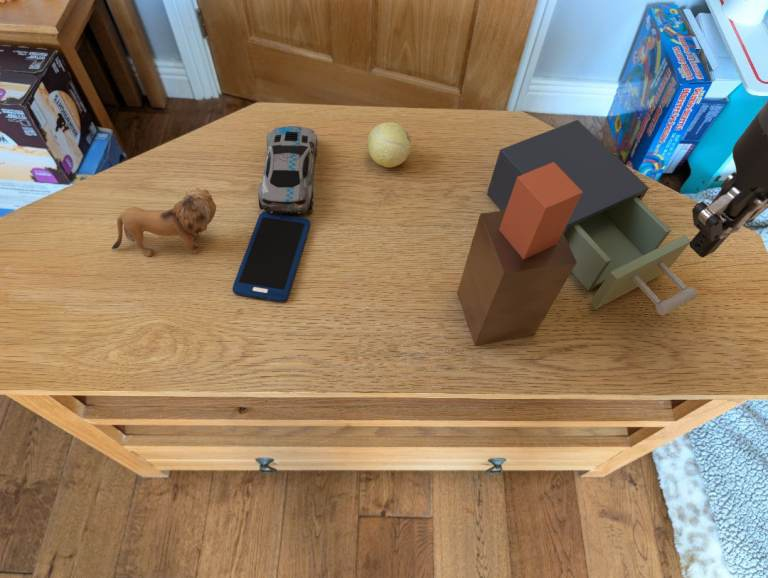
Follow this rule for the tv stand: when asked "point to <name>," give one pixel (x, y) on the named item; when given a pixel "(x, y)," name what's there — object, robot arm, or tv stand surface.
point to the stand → (509, 284)
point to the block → (539, 209)
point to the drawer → (626, 254)
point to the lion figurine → (169, 221)
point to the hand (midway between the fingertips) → (700, 249)
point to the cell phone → (272, 257)
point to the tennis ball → (389, 144)
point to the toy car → (289, 171)
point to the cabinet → (569, 170)
